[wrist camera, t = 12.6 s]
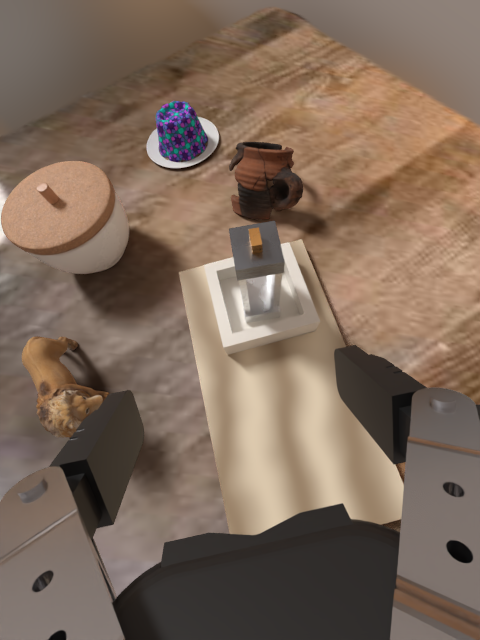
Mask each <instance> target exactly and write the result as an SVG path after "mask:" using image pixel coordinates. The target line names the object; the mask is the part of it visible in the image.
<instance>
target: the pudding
mask: <svg viewBox="0 0 480 640" xmlns="http://www.w3.org/2000/svg"><path fill="white" fill-rule="evenodd" d="M156 125H157V129H156V130H155V131H154V132H153V133H152V134H151V135H150V137H149V139H148V142H147V153H148V155H149V157H150V158H151V159H152V160H153V161H154V162H155V163H157V164H158V165H161V166H164V167H167V168H184V167H189V166H192V165H195V164H197V163H199V162H201V161H203V160H204V159H206V158H207V157H208V156H210V155H211V153H212V152H213V151H214V150H215V148H216V147H217V144H218V141H219V133H218V130H217V128H216V127H215V125H214V124H212V123H211V122H210V121H208V120H206V119H204V118H200V117H197V114H196V112H195V111H194V109H193V108H192V107H191V106H190V105H189V104H188V103H187V102H179V101H173V102H171V103H168V104H165V105H163V106H162V107H161V109H160V110H158V112H157V113H156ZM207 137H208V138H207ZM207 141H208V145H207V148H206V146H205V143H206V142H207ZM158 146H159V147H160V153H161V155H162V156H163V157H169V159H170V160H171V161H173V162H171V161H168V160H166V159H164V158H163V157H162V156H161V155H160V153H159V150H158ZM205 148H206V149H205ZM204 150H205V151H204ZM203 151H204V152H203ZM202 152H203V153H202ZM200 153H202V154H201V155H199V156H198V157H196V158H195V156H196V155H197V154H200ZM193 158H195V159H193ZM191 159H192V160H191ZM180 160H186V162H178V161H180ZM188 160H190V161H188Z"/></svg>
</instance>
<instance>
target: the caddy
mask: <svg viewBox="0 0 480 640" xmlns="http://www.w3.org/2000/svg"><path fill="white" fill-rule="evenodd" d="M281 248H282V253H283V257H284V261H285V264H284V273H282V282H281V292H280V303H279V305H280V310H281V313H280V318H274V319H268V320H262V321H256V322H250V323H246V321H245V316H244V310H243V303H242V297H241V291H240V285H239V281H237V276H236V271H235V265H234V258H233V257H232V258H228V259H224V260H221V261H217V262H213V263H210V264H206V265H204V268H205V273H206V277H207V281H208V285H209V289H210V294H211V298H212V302H213V306H214V310H215V315H216V319H217V323H218V327H219V331H220V335H221V340H222V344H223V348H224V350H225V352H226V353H227V355H229V354H233V353H237V352H240V351H244V350H248V349H252V348H255V347H259V346H263V345H266V344H270V343H274V342H277V341H281V340H285V339H288V338H292V337H296V336H300V335H303V334H307V333H311V332H314V331H316V329H317V327H318V325H319V323H320V319H319V317H318V314H317V312H316V309H315V307H314V304H313V302H312V299H311V297H310V294H309V291H308V289H307V286H306V284H305V281H304V279H303V276H302V274H301V271H300V269H299V266H298V263H297V261H296V258H295V256H294V253H293V251H292V248H291V246H290V243H289V242H288V243H284V244H281Z"/></svg>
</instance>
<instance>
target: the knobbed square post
mask: <svg viewBox="0 0 480 640" xmlns="http://www.w3.org/2000/svg"><path fill="white" fill-rule="evenodd" d="M229 233H230V239H231V245H232V252H233V258H234V265H235V271H236V276H237V281H239V285H240V291H241V297H242V303H243V310H244V316H245V321H246V323H250V322H256V321H262V320H268V319H274V318H280V313H281V310H280V305H279V303H280V292H281V282H282V273H284V264H285V261H284V257H283V253H282V248H281V244H280V240H279V236H278V232H277V227H276V223H275V221H270V222H264V223H259V224H253V225H247V226H242V227H236V228H230V229H229Z"/></svg>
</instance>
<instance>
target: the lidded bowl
mask: <svg viewBox="0 0 480 640" xmlns="http://www.w3.org/2000/svg"><path fill="white" fill-rule="evenodd" d="M1 224H2V228H3V231H4V233H5V235H6V237H7V238H8V239H9V240H10V241H11V242H12V243H13V244H15V245H16V246H17V247H19V248H21V249H22V250H24V251H26V252H28V253H29V254H31V255H32V256H34V257H35V258H37V259H38V260H40V261H42V262H43V263H45V264H47V265H49V266H51V267H53V268H56V269H58V270H61V271H64V272H68V273H74V274H89V273H94V272H100V271H104V270H107V269H109V268H111V267H112V266H114V265H115V264H116V263H117V262H118V261H119V260H120V259H121V257H122V256H123V253H124V251H125V248H126V246H127V243H128V239H129V222H128V218H127V215H126V212H125V209H124V207H123V204H122V202H121V200H120V199H119V197H118V195H117V193H116V192H115V190H114V188H113V185H112V184H111V182H110V180H109V179H108V177H107V175H106V174H105V173H104V172H103V171H102V170H101V169H99V168H98V167H96V166H94V165H92V164H90V163H86V162H81V161H66V162H59V163H55V164H52V165H49V166H46V167H44V168H42V169H40V170H38V171H36V172H34V173H32V174H31V175H29V176H28V177H27V178H25V179H24V180H23V181H22V182H21V183H19V184H18V185H17V186H16V187H15V189H14V190H13V191H12V192H11V194H10V195H9V197H8V198H7V200H6V202H5V204H4V207H3V210H2V214H1Z"/></svg>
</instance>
